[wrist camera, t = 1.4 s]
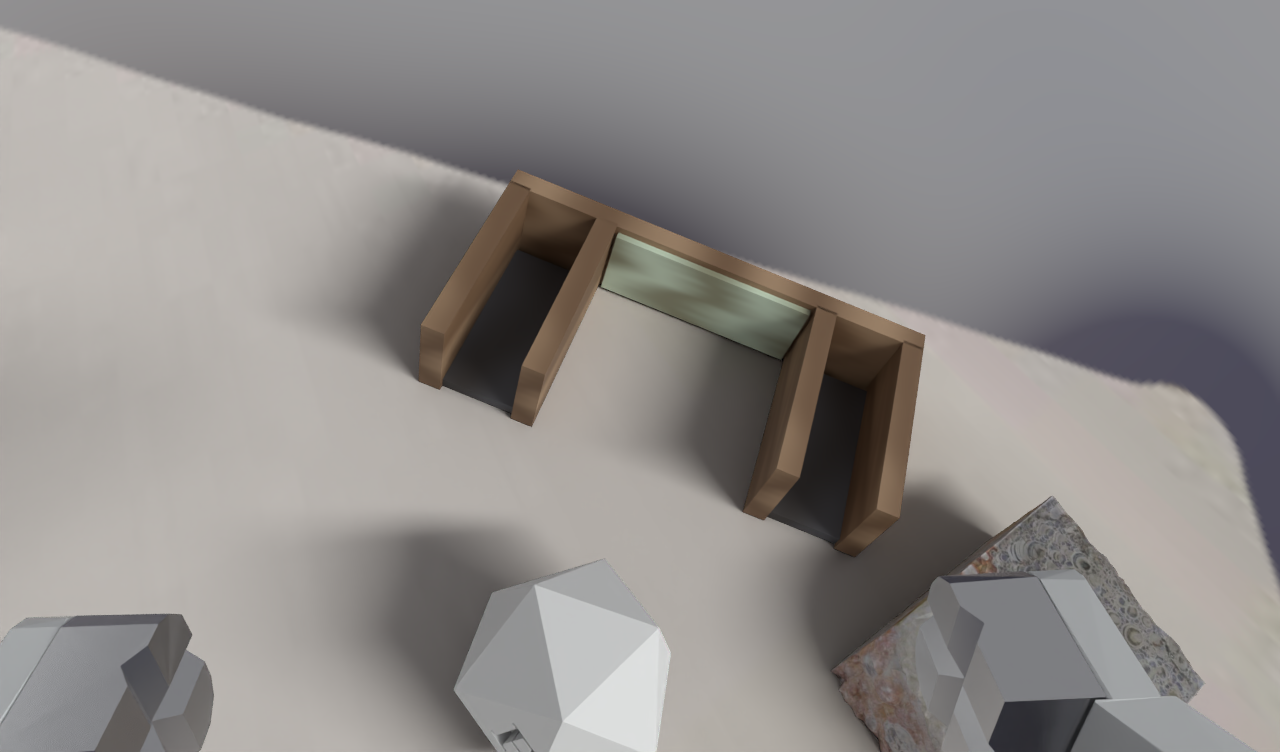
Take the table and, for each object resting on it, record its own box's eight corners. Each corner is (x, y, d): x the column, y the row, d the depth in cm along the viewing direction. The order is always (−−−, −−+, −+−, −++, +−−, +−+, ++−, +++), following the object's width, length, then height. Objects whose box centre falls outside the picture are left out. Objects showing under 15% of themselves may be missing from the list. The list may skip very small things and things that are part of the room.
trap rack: (418, 381, 45) (420, 324, 41) (508, 229, 53) (517, 169, 49) (854, 557, 46) (899, 518, 42) (884, 382, 53) (925, 335, 49)
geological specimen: (1222, 666, 42) (1062, 871, 34) (1129, 697, 46) (970, 884, 38) (1061, 488, 45) (882, 636, 37) (990, 534, 50) (818, 674, 42)
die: (446, 612, 40) (394, 697, 30) (600, 506, 40) (597, 557, 30) (547, 755, 40) (527, 883, 31) (700, 650, 40) (728, 745, 31)
